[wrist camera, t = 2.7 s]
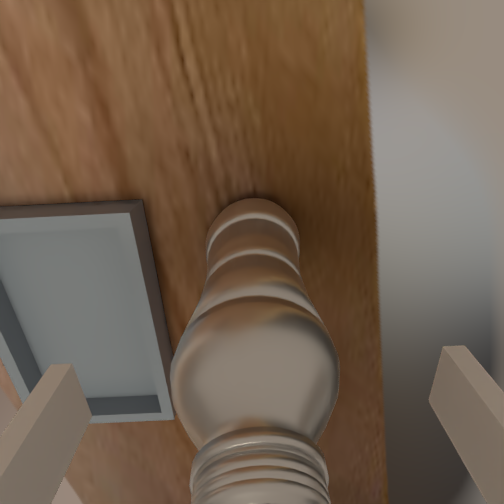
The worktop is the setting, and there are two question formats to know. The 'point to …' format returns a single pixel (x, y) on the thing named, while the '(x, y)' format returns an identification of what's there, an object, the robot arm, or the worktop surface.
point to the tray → (86, 306)
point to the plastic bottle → (255, 367)
